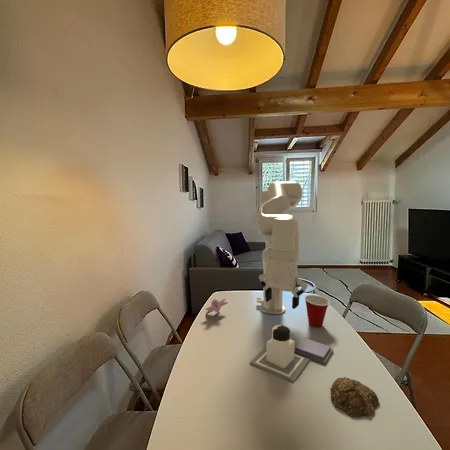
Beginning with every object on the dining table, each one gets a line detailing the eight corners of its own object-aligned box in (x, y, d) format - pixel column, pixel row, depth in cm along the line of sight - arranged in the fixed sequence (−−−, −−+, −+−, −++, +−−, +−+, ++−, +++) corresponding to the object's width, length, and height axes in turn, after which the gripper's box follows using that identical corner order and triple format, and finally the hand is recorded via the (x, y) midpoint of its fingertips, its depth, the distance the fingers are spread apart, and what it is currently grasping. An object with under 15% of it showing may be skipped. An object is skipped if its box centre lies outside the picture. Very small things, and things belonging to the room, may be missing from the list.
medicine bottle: (294, 359, 98) (295, 327, 96) (284, 369, 92) (285, 335, 91) (276, 352, 102) (277, 321, 101) (265, 360, 97) (266, 328, 95)
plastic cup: (329, 332, 118) (330, 305, 116) (302, 328, 121) (303, 301, 120) (328, 321, 128) (329, 296, 126) (304, 317, 131) (305, 293, 130)
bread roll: (337, 380, 89) (338, 365, 88) (381, 398, 81) (382, 382, 80) (322, 403, 79) (323, 387, 78) (370, 427, 71) (372, 409, 70)
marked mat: (249, 363, 96) (249, 361, 96) (268, 345, 107) (268, 343, 107) (293, 382, 87) (293, 380, 87) (309, 360, 98) (309, 358, 98)
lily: (232, 314, 137) (225, 295, 140) (233, 315, 126) (225, 294, 128) (209, 323, 136) (202, 304, 138) (208, 325, 124) (201, 304, 127)
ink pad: (291, 352, 103) (292, 347, 103) (301, 341, 111) (302, 336, 111) (324, 364, 96) (325, 359, 96) (333, 351, 104) (333, 346, 104)
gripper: (254, 253, 95) (253, 301, 97) (304, 261, 84) (301, 314, 87) (265, 249, 101) (264, 294, 103) (312, 256, 90) (310, 306, 93)
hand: (281, 303), depth 95 cm, fingers open, 9 cm apart
